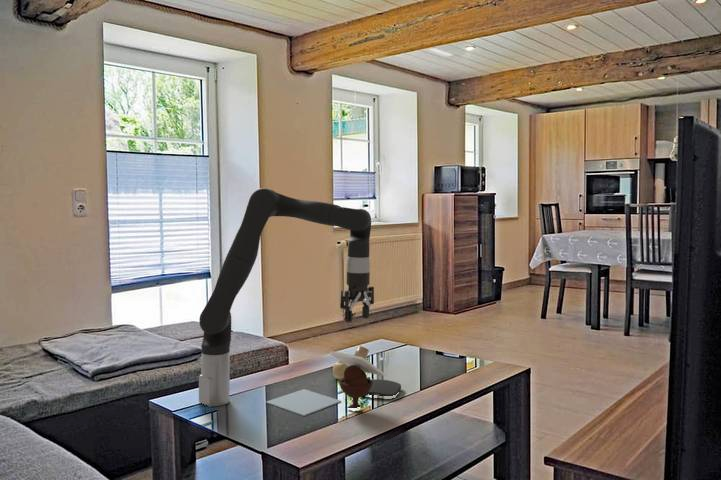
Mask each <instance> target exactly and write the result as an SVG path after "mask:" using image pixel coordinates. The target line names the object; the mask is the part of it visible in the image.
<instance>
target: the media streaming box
mask: <svg viewBox="0 0 721 480" xmlns="http://www.w3.org/2000/svg"><path fill="white" fill-rule="evenodd" d="M371 380H372V381H373V384H372V387H371V389H370V390H369V391H368V392H367V393H366V394H365V395H364V396H366V395H368V394H369V395H373V396H374V395H379V396H393V395H396V394H397V393H398V392H399V391H400V389H401V390H402V384H401V383H399V382H396V381H393V380H387V379H377V378H376V379H371ZM400 392H401V391H400Z"/></svg>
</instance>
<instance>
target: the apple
mask: <svg viewBox="0 0 721 480" xmlns="http://www.w3.org/2000/svg"><path fill="white" fill-rule="evenodd" d="M347 367H348V366H347V365H345V364H344V363H343V362H341V361H340V360H338V361H336V362H335V363H334V364H333V366H332V375H333V377H334V378H335V379H336V380H338V381H340V380H341V379H342V378H343V377H344V371H345V369H346V368H347Z"/></svg>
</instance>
